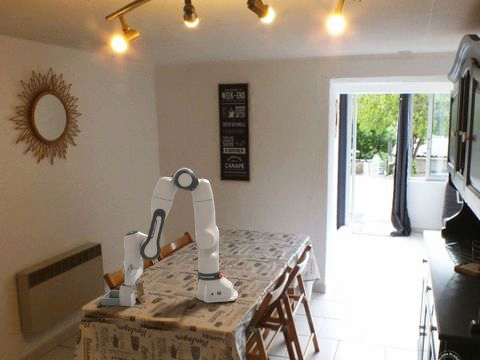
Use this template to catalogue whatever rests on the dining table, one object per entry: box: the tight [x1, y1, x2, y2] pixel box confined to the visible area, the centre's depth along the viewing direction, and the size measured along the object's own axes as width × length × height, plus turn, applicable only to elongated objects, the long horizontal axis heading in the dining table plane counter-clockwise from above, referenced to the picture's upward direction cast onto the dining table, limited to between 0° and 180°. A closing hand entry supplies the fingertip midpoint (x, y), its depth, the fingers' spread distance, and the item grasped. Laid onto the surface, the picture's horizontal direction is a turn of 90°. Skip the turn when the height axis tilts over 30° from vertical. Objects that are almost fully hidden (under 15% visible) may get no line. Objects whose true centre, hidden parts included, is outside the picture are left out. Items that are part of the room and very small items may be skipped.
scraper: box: [135, 280, 146, 303], centre depth 221 cm, size 3×7×10 cm, turn 28°
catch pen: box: [100, 289, 121, 306], centre depth 221 cm, size 10×12×4 cm
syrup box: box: [123, 260, 136, 286], centre depth 246 cm, size 6×6×14 cm
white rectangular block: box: [118, 285, 137, 308], centre depth 215 cm, size 4×7×10 cm, turn 73°
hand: (134, 287), depth 220 cm, fingers open, 8 cm apart
